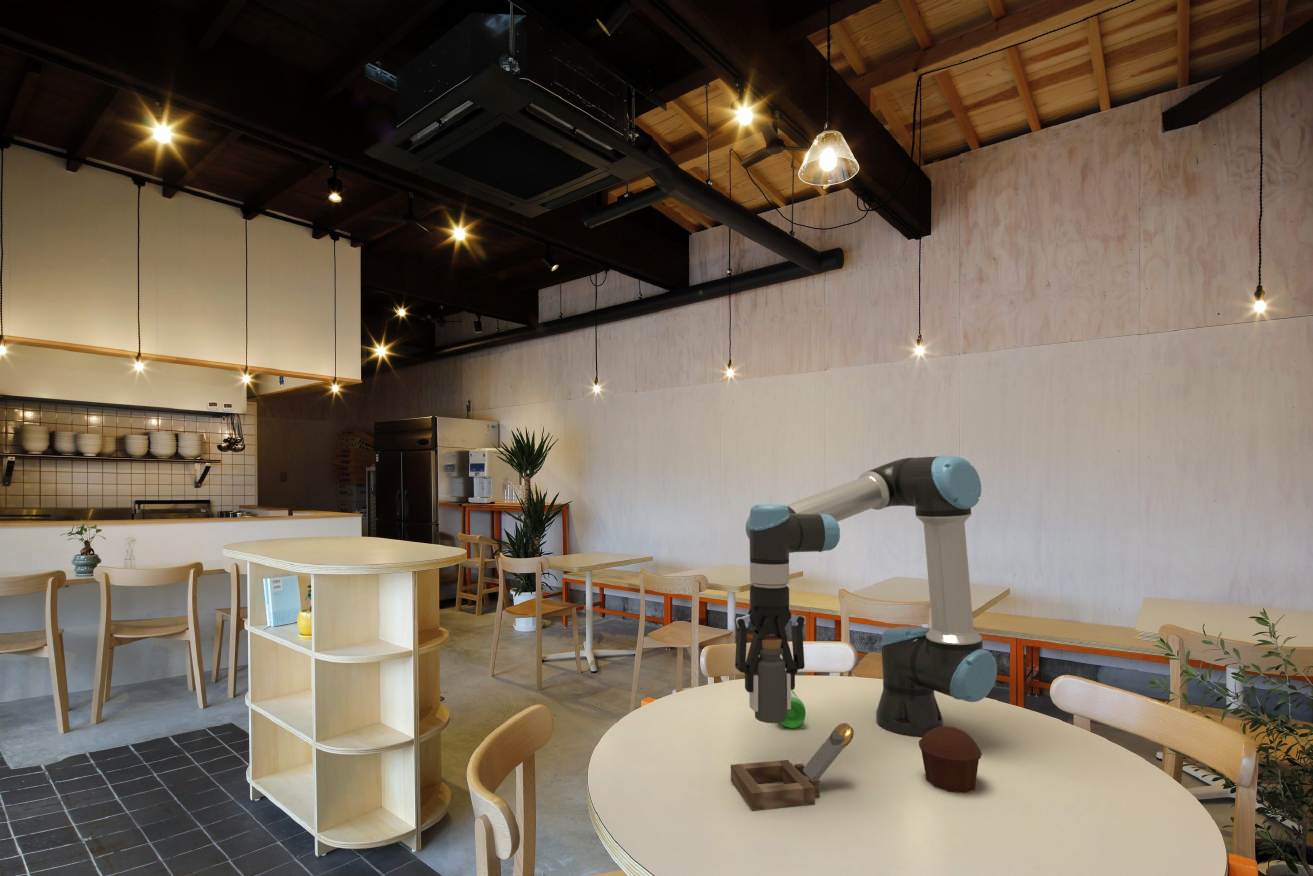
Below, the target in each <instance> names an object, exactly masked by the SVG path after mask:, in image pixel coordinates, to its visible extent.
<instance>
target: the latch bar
mask: <svg viewBox="0 0 1313 876" xmlns="http://www.w3.org/2000/svg"><path fill="white" fill-rule="evenodd" d="M854 735H855V731H854V728H852V727H851V725H850V724H848V723H847V722H843V723H840V724H838V725H837V726H836V727H834V729H833V730H832V731H831V733H830V735H829V736H828V737H827V738H826V740H825V741H824V742H823V744H821V746H820V747H819V749H818V750H817V751H816V752H815V753H814V754H813V755H812V757H810V759H809V760H808V762H807V763H806V764H804V766H805V767H804V768H803V769H802V771H801V772H800V773H801V774H802V775H803V776H804V777H805V778H806V779H807V780H808V781H809V779H811V778H817V779H818V780H819V781H820V778H821V777H822V776H823V775H824V774H825V772H826V771H827V770H828V769H829V768H830V766H831V765H832V764H833V763H834V761H835V760H836V759H837V758H838V756H839V755H840V754H841V752H843V750H844V749H845V748H846V747H847V746H848V745H849V744H850V743H851V742H852V740H853V738H854Z"/></svg>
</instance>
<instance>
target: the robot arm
mask: <svg viewBox="0 0 1313 876" xmlns="http://www.w3.org/2000/svg"><path fill="white" fill-rule="evenodd" d="M981 495H982V483H981V479H980V476H979V473H978V470H976V468H975V467H974V465H973V464H971V462H970V461H968V460H967V459H965V458H963V457H961V456H956V455H955V456H952V455H939V456H938V455H937V456H924V457H904V458H901V459H897V460H894V461H890V462H888V463H885V464H883V465H880V466H877V467H875V468H873V469H870V470H866V471H864V472H862V473H861V474H860V476H859V477H858V478H857V479H854V480H852V481H849V482H847V483H844V484H841V485H838V486H835V487H833V488H830V489H828V490H827V489H826V490H825V491H822V492H819V493H815V494H813V495H811V496H808V497H805V498H803V499H800V500H797V501H795V502H794V501H793V502H792V503H789V504H787V505H786V504H785V505H784V504H754V505H753V506H752V507H751V508H750V511H749V512H750V513H749V517H748V518H747V520H746V522H745V533H746V536H747V538H748V539H749V582H750V583H751V585H750V586H749V610H748V612H747V615H744V616H741V617H740V616H736V617H734V623H735V627H736V637H735V638H736V639H735V641H736V642H735V664H734V668H735V669H736V670H737V671H738V672H740V673H743V674H744V688H745V692H747V693H748V695H749V699H748V701H749V704H748V705H749V708H750V709H751V710H752V711H753V712H754V713H755V712H757V711H758V675H756V674H755V673H754V672H755V668H756V665H757V661H758V657H759V654H760V650H761V647H762V640H764V639H765V636H766V635H774V636H777V637H779V638H780V639H782V643H781V647H782V648H783V654H781V655H780V656H781V659H783V660H784V661H785V675H786V709H791V690H793V691H794V690H795V688H796V679H795V678H796V674H797V673H798V671H799V670H803V669H805V653H804V651H805V650H804V635H803V634H804V633H803V629H804V625H805V619H806V618H805V617H804V616H801V615H799V614H792V612H791V610H790V587H789V586H788V584H789V583H790V553H809V552H811V553H813V552H819V553H822V552H828V551H831V550H833V549H835V548H837V546H838V544H839V542H840V539H841V529H840V525H839V523H838V522H840V521H843V520H846V519H848V518H850V517H853V516H855V515H858V514H860V513H863V512H866V511H868V510H871V509H872V510H877V511H878V510H883V509H885V508H889V507H901V506H902V507H915V517H916V518H917V519H918V520H920V521H921V522H922V524H923V532H924V533H923V534H924V542H925V543H924V544H925V546H924V547H925V555H926V568H927V579H928V580H927V581H928V594H929V605H930V616H931V628H930V627H926V626H898V627H896V626H895V627H890V628H887V629H885V630H884V631H883V632H882V637H881V638H882V641H881V663H882V664H881V665H882V687H883V688H882V692H881V696H880V699H879V701H878V704H877V708H876V711H875V712H876V713H875V714H876V719H875V720H876V723H877V724H878V725H879V726H880V727H882V728H884V729H885V730H888V731H890V732H893V733H897V734H901V735H907V736H912V737H923V736H924V735H925V734H926V733H927V732H928V731H930V730H932V729H933V728H936V727H940V726H944V719H943V716H942V713H941V709H940V707H939V704H938V702H937V699H936V695H935V692H937V693H941V694H942V695H946V696H949V697H951V698H953V699H954V700H960V701H961V700H962V701H964V702H969V703H977V702H980V701H982V700H984V698H986V697H987V696H988V695H989V694H990V693H991V691H992V688H993V687H994V686H995V683H996V679H997V676H998V674H997V673H998V666H997V661H996V658H995V657H994V656H993V653H991V652H990V651H988V650H987V649H984V645H983V638H982V637H983V636H982V635H981V634H980V633H979V632H977V631H976V630H975V629H974V618H973V606H972V592H971V582H970V571H969V558H968V547H967V545H968V544H967V534H966V524H965V523H966V521H967V520H968V519H969V518H970V517H971V516H972V508H973V507H975V506H976V505H977V504H978V503H979V501H980V498H979V497H981ZM749 623H751V624H752V626H753V631H752V638H751V642H750V645H749V649H748V653H747V642H748V641H747V640H748V627H749ZM788 623H790V625H791V642H792V643H791V644H792V651H791V648H790V645H789V641H788V635H787V631H786V626H787V625H788Z"/></svg>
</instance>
